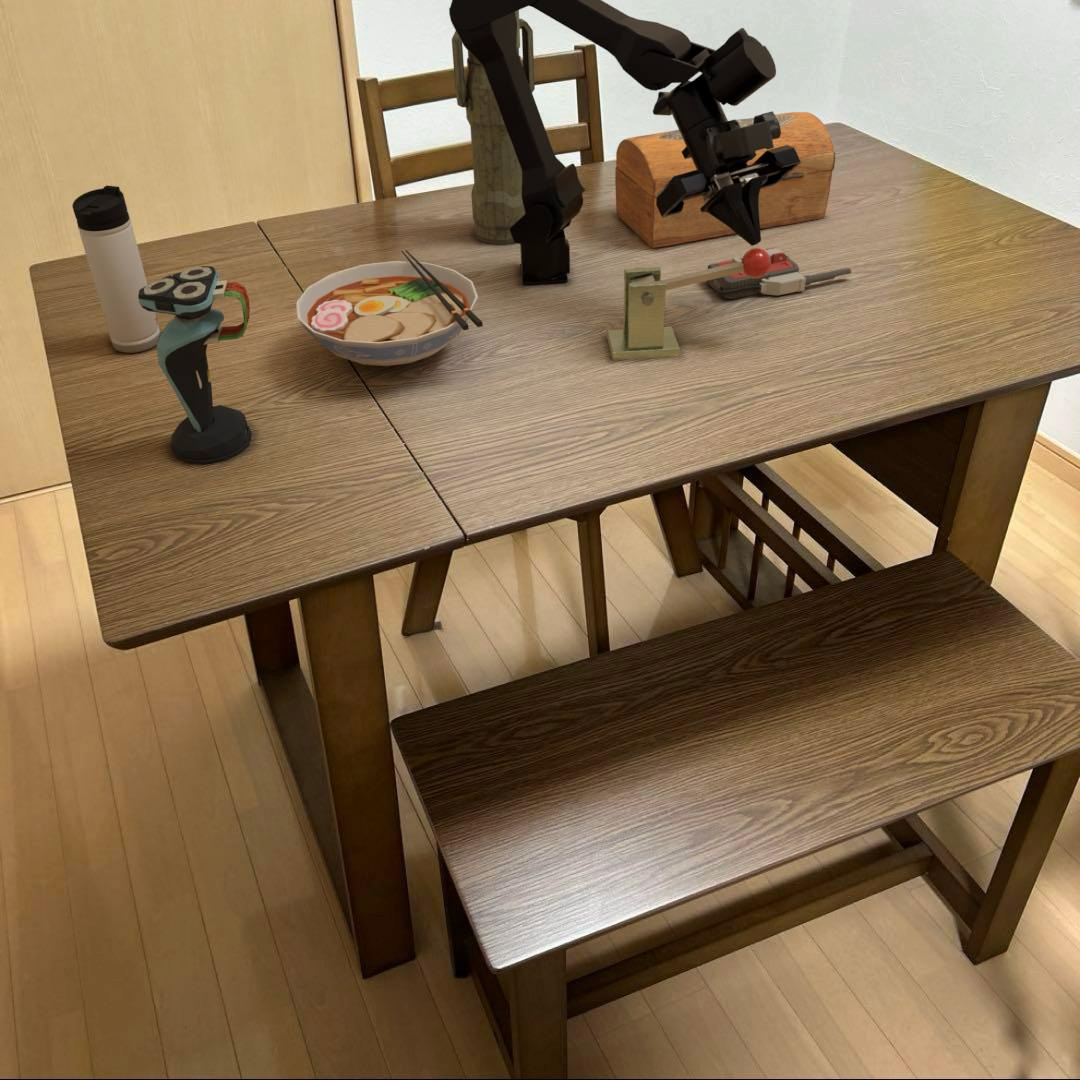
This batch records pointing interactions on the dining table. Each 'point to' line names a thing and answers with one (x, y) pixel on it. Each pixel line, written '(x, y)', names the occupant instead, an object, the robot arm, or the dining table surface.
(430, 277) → the ramen bowl
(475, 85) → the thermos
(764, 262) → the switch lever
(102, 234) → the travel mug
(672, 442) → the dining table surface
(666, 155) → the wooden box
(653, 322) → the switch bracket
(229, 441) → the electric shaver
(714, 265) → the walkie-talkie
